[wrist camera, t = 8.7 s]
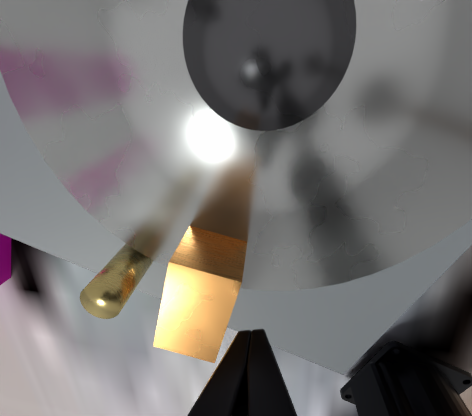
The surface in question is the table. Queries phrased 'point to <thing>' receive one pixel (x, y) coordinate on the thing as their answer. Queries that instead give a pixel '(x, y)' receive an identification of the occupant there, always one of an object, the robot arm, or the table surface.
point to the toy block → (5, 258)
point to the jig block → (248, 301)
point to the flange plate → (250, 136)
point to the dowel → (115, 283)
